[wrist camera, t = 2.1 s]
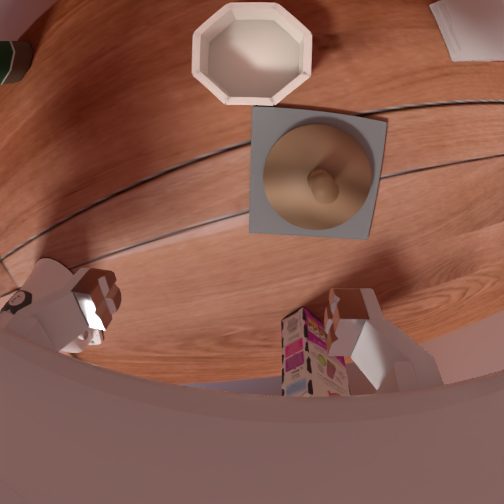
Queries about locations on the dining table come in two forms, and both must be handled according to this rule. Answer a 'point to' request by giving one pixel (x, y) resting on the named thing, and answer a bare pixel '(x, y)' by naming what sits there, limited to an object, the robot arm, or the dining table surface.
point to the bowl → (251, 53)
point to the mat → (285, 119)
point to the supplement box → (471, 28)
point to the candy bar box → (310, 359)
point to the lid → (316, 176)
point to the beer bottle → (14, 60)
